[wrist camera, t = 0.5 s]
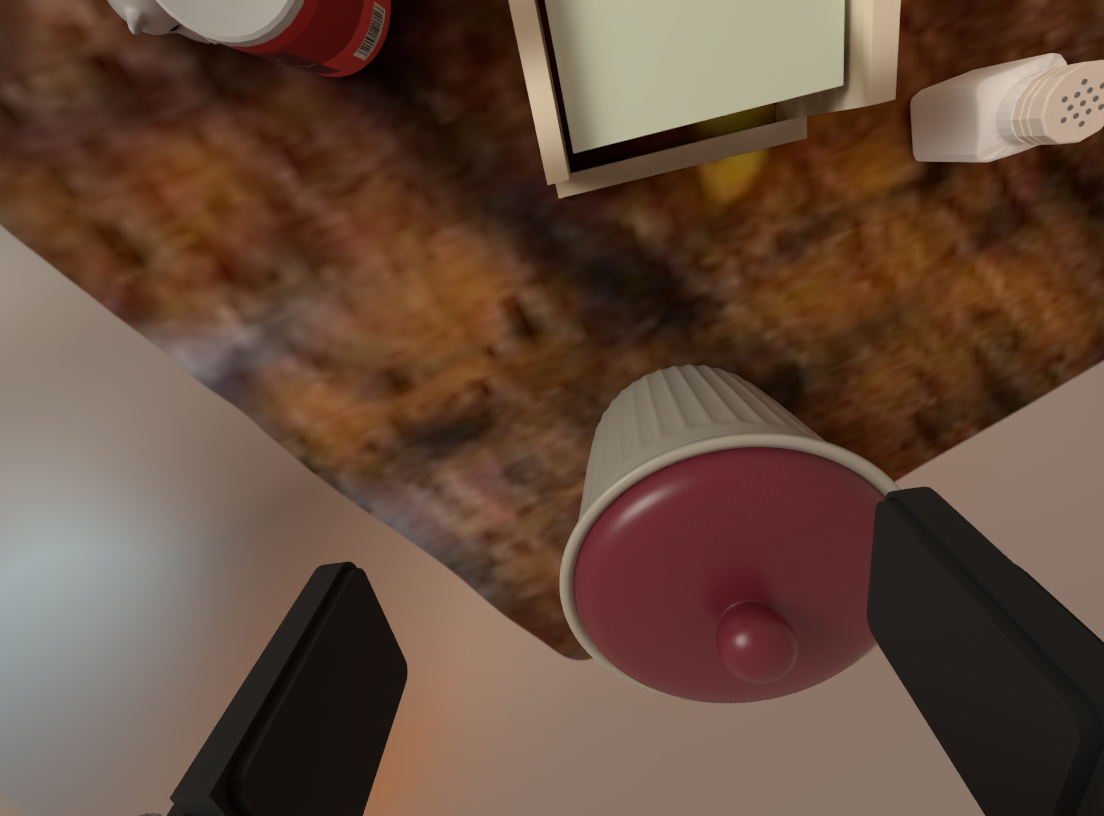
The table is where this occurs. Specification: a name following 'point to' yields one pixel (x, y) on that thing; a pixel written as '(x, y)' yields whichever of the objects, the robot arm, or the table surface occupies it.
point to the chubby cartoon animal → (152, 19)
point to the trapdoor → (687, 60)
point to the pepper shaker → (1008, 109)
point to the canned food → (292, 29)
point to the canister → (719, 543)
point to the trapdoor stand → (863, 85)
